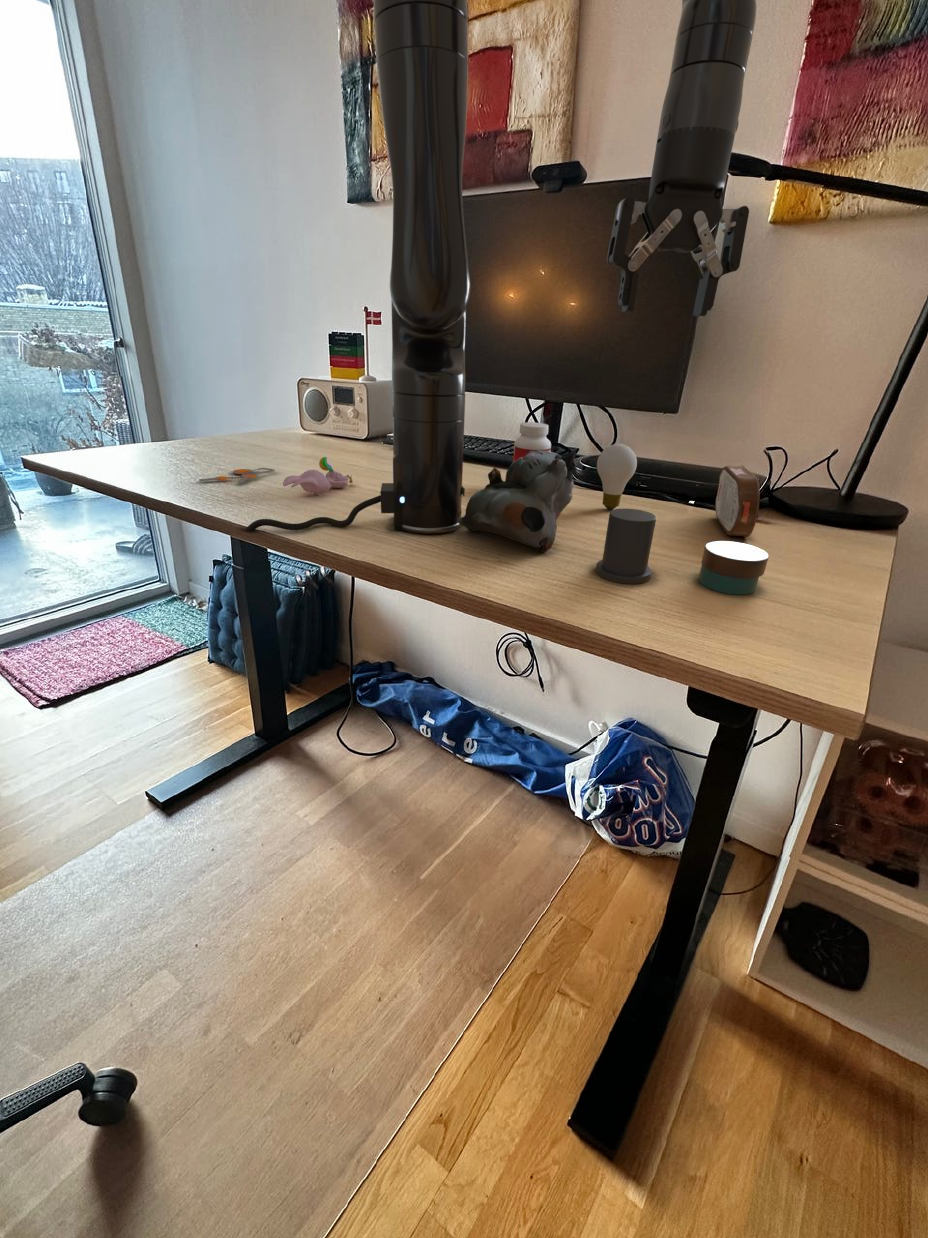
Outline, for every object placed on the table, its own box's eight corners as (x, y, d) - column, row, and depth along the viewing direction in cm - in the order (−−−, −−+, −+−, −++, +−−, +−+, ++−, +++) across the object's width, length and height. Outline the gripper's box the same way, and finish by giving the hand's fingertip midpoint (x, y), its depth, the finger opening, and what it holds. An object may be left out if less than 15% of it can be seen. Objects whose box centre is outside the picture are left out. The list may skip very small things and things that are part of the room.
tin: (752, 545, 78) (768, 482, 74) (727, 542, 79) (742, 480, 75) (729, 514, 91) (742, 460, 88) (708, 512, 92) (720, 458, 88)
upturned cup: (604, 584, 64) (614, 522, 61) (589, 563, 69) (597, 506, 66) (659, 584, 64) (671, 523, 61) (639, 564, 70) (649, 507, 67)
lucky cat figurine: (452, 523, 81) (494, 430, 80) (528, 559, 83) (571, 468, 82) (464, 524, 66) (515, 410, 65) (556, 567, 68) (608, 457, 67)
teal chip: (713, 594, 62) (717, 577, 61) (689, 573, 68) (693, 557, 67) (766, 594, 63) (771, 577, 62) (738, 574, 68) (742, 558, 67)
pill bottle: (507, 486, 103) (511, 421, 98) (540, 486, 104) (546, 421, 99) (515, 495, 97) (521, 426, 92) (550, 495, 98) (558, 427, 93)
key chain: (249, 468, 108) (249, 463, 107) (281, 472, 105) (280, 468, 105) (195, 481, 97) (194, 476, 97) (229, 487, 95) (228, 482, 94)
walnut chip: (717, 578, 61) (722, 560, 60) (691, 556, 67) (695, 540, 66) (776, 578, 62) (781, 561, 61) (744, 557, 68) (749, 540, 67)
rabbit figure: (330, 490, 101) (270, 494, 88) (331, 454, 99) (270, 453, 86) (360, 495, 99) (304, 500, 86) (362, 458, 97) (305, 458, 84)
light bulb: (587, 511, 90) (596, 445, 86) (594, 502, 95) (603, 439, 91) (626, 516, 88) (637, 449, 84) (631, 507, 93) (642, 443, 89)
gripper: (744, 150, 63) (708, 318, 70) (616, 139, 62) (593, 310, 69) (782, 129, 56) (738, 317, 64) (640, 115, 55) (612, 309, 62)
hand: (663, 313), depth 66 cm, fingers open, 8 cm apart
